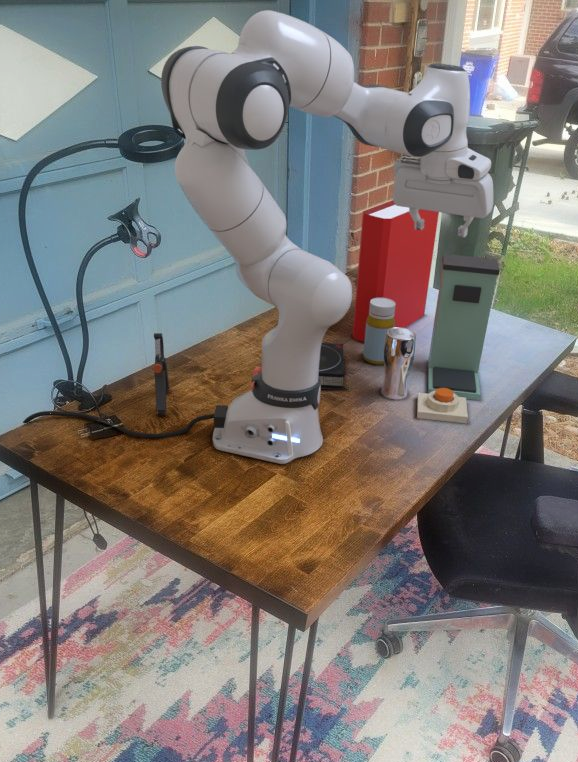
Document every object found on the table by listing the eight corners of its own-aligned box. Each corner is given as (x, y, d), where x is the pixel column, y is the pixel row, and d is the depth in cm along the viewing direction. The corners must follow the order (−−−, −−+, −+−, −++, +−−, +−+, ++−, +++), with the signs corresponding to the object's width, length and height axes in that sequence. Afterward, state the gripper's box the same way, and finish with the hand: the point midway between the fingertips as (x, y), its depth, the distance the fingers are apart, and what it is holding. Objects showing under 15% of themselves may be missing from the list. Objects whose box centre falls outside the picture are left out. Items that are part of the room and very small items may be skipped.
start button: (434, 402, 161) (435, 395, 160) (434, 393, 164) (435, 386, 163) (452, 404, 160) (453, 397, 159) (452, 395, 164) (453, 388, 163)
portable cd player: (271, 387, 167) (271, 371, 165) (276, 355, 181) (276, 340, 179) (342, 391, 168) (343, 375, 166) (341, 358, 182) (343, 344, 179)
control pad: (416, 418, 161) (419, 404, 158) (417, 399, 168) (419, 385, 166) (466, 423, 160) (469, 409, 158) (464, 404, 167) (467, 390, 165)
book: (400, 308, 212) (414, 192, 192) (424, 315, 208) (440, 198, 189) (349, 337, 193) (359, 212, 173) (375, 346, 189) (388, 219, 170)
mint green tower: (426, 394, 170) (444, 280, 153) (426, 361, 184) (442, 253, 168) (480, 400, 169) (503, 286, 153) (476, 366, 184) (497, 259, 168)
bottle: (376, 368, 179) (382, 310, 170) (357, 357, 183) (362, 300, 174) (396, 361, 183) (403, 304, 174) (377, 351, 187) (383, 294, 178)
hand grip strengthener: (155, 418, 153) (149, 352, 144) (159, 390, 163) (153, 327, 154) (167, 418, 153) (161, 352, 144) (169, 390, 163) (164, 327, 154)
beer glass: (406, 402, 166) (415, 341, 157) (376, 397, 167) (383, 337, 158) (410, 389, 171) (418, 329, 162) (381, 384, 172) (388, 324, 163)
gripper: (386, 159, 140) (387, 230, 149) (487, 172, 132) (481, 246, 142) (400, 150, 144) (400, 219, 153) (499, 161, 136) (493, 233, 146)
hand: (440, 232), depth 147 cm, fingers open, 8 cm apart
